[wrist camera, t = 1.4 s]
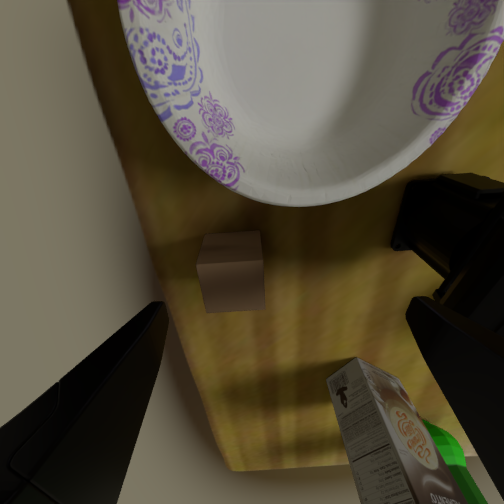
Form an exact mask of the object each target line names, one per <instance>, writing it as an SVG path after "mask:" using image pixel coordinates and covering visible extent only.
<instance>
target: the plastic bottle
mask: <svg viewBox="0 0 504 504" xmlns="http://www.w3.org/2000/svg"><path fill="white" fill-rule="evenodd" d="M422 421H423V423H424V425H425V427H426V428H427V430H428V432H429V434H430V436H431V437H432V439H433V441H434V443H435V445H436V446H437V448H438V450H439V452H440V454H441V455H442V457H443V459H444V461H445V463H446V464H447V466H448V468H449V470H450V472H451V474H452V475H453V477H454V479H455V481H456V482H457V484H458V486H459V488H460V490H461V492H462V493H463V495H464V497H465V499H466V501H467V502H468V504H488V503H487V501H486V500H485V498H484V496H483V495H482V493H481V491H480V490H479V488H478V487H477V485H476V483H475V482H474V480H473V478H472V477H471V475H470V473H469V472H468V470H467V468H466V461H465V457H464V453H463V449H462V448H461V446H460V445H459V443H458V441H457V440H456V439H455V438H454V437H453V436H452V435H451V434H450V433H448V432H447V431H445V430H443V429H441V428H439V427H437V426H435V425H433V424H430V423H429V422H427V421H425V420H422Z"/></svg>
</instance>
